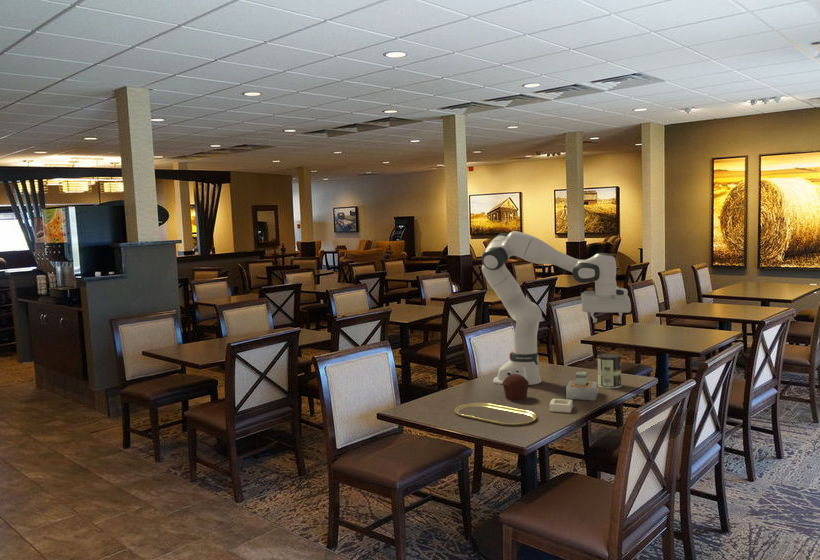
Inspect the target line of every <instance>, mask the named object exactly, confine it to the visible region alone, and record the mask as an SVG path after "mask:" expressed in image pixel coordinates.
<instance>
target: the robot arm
mask: <svg viewBox="0 0 820 560" xmlns="http://www.w3.org/2000/svg"><path fill="white" fill-rule="evenodd" d="M510 257H518V258H520V259H523V260H524V261H527V262H529V263H533V264H537V265H553V266H556V267H558V268H561V269H563V270H566V271H568V272H571V273H572V276H573V277H572V278H573V279H574V280H575V282H577V283H580V284H583V285H584V284H589V283H592V282H594V286H595V287H594V290H584V291H583V292H581V294H580V300H581V301H582V303H581V311H582V312H583V313H589V314H590V315H589V316H591V318H592V322H593V324H594V323H595V324H597V323H598V317H597V318H596V317H595V316H594V314H595V313H618V315H619V316H618V317H617V318H615V324H620V323H621V318H622V316H623V314H625V313H631V311H632V304H631V300H630V297H629V295H628V292H629V291H628V289H627V288H623V287H620V286H618V285H617V279H616V276H617V261H616V257H615V256H614V255H613V254H611V253H604V252H597V253H596V254H594V255H593V256H591V257H589V258H587V259H585V258H584V259H582V258H581V259H580V258H575V257H573V256H571V255H568V254H566V253H563V252H561V251H558V250H557V249H555V248H554V247H553V246H551V245H550V244H548V243H547V242H545V241H544V240H542V239H541V238H538V237H536V236H533V235H531V234H528V233H525V232H521V231H516V230H513V231H511V232H509V233H506V232H505V233H504V232H502V233H499V234H498V235H496V236H495V237H494V238H493V239H492V240H490V242H489V243H488V244H487V246H486V248H485V249H484V250H483V252H482V255H481V263H482V266H481V272H482V275H483V276H484V278H485V279H486V281H487V282H488V284H489V286H490V287H491V288H492V290H493V291H494V292H495V294H496V295H497V297H498V298H499V299H500V301H501V303H502V304H503V306H504V308H505V309H506V311H507V313H508V315H509V317H510V318H511V319H513V321H515V329H514V334H513V337H512V338H513V339H512V340H513V341H512V343H513V344H512V345H513V350H512V351H510V353H509V355H508V357H509V360H508V361H506V362H505V363H504V364H503V365H501V366H500V367H499V369H498V373H497V375H496V376H495V377H493V380H492V381H493V384H495V385H496V384H498V385H503V384H502V383H503V381H504V380H505V378H506V377H508V376H509V375H512V374H518V375H521V376H523V377H525V378H526V380H527V381H528V382H529V384H528V386H532V385H538V384H540V383H541V382H542V379H541V376H540V371H539V363H540V362H539V361H540V360H539V359H540V358H539V351H538V339H537V338H538V332H539V327H540V326H539V325H540V321H541V320H542V316H543V314H542V313H543V312H542V310H541V308H540V307H539V306H538V304H536V303H535V302H532V301H530V300H528V299H527V297H526V296H525V294H524V292H523V290H522V288H521V285H520V283H518V281H517V279H516V278H515V277H514V276H513V275H512V273H511V271H510V270H509V269H508V267H507V266H506V263H507V261H509V259H510Z"/></svg>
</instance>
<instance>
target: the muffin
mask: <svg viewBox="0 0 820 560" xmlns="http://www.w3.org/2000/svg"><path fill="white" fill-rule="evenodd" d="M528 384H529V382H528V381H527V380H526V378H525V377H523V376H521V375H518V374H512V375H509V376H508V377H506V378H505V380H504V381H503V383H502V384H501V385H502V386H503V392H504V396H505V399H506V400H508V401H513V402H514V401H524V400H525V399H527V396H528V389H529V385H528Z"/></svg>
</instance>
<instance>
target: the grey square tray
mask: <svg viewBox="0 0 820 560" xmlns="http://www.w3.org/2000/svg"><path fill="white" fill-rule="evenodd" d="M572 409H573V399H566V398H565V399H563V398H552V399H551V400H550V402H549V412H555V413H570V414H571V412H572Z"/></svg>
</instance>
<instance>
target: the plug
mask: <svg viewBox="0 0 820 560" xmlns="http://www.w3.org/2000/svg"><path fill="white" fill-rule="evenodd" d="M587 378H588V374H587V371H576V372H575V381H576V385H585V386H587V381H588V380H587Z"/></svg>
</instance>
